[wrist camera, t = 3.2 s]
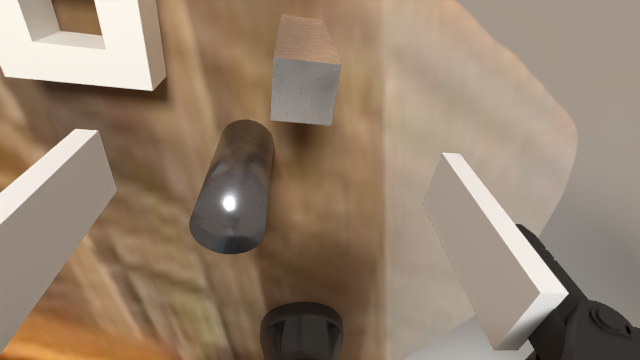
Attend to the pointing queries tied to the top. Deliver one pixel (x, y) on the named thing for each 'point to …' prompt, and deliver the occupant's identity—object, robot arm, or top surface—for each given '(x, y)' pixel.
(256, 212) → the round peg
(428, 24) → the top surface
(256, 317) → the top surface
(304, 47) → the square peg
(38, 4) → the socket block
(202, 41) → the top surface
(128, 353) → the top surface
